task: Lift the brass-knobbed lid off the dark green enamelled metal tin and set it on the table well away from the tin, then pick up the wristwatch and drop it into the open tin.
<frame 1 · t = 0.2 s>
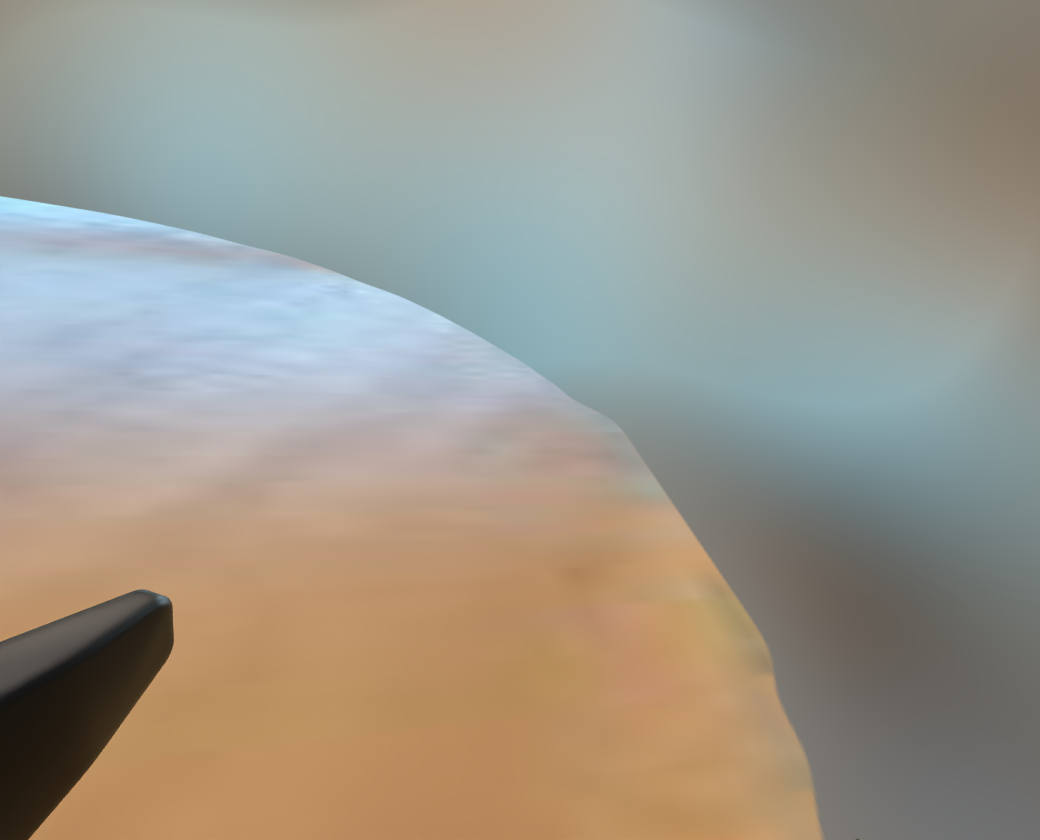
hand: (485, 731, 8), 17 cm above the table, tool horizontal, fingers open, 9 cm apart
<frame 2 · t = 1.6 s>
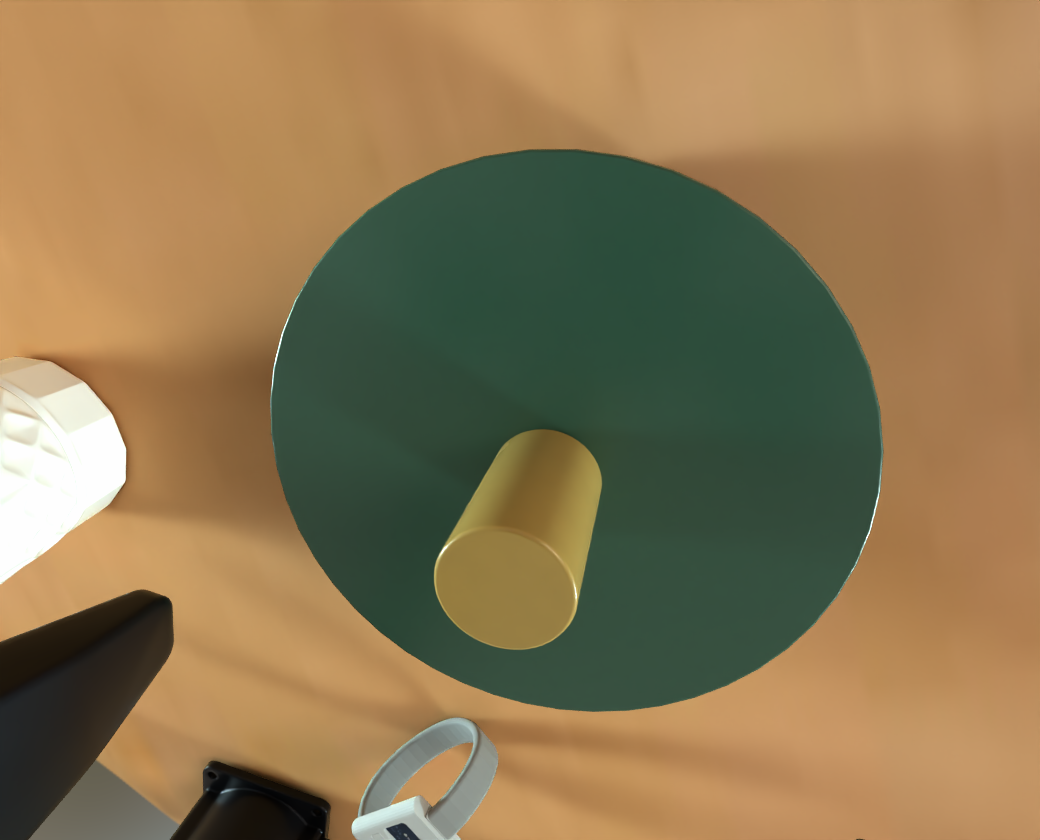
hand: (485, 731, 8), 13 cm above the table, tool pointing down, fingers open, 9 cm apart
tin lid: (550, 468, 14), point 6 cm above the table, touching tin
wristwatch: (448, 728, 28), on the table
white cup: (60, 434, 26), on the table
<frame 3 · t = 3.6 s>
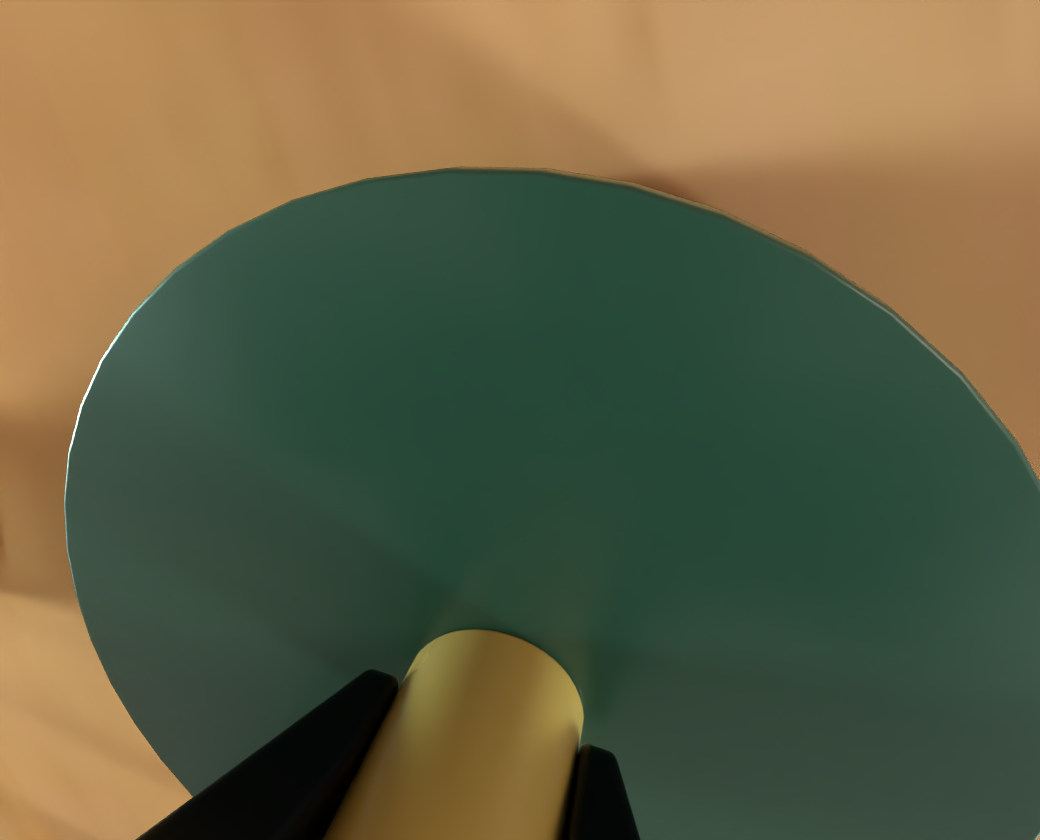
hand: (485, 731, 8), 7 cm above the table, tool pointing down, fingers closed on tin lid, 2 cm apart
tin lid: (504, 670, 9), point 6 cm above the table, touching gripper, tin
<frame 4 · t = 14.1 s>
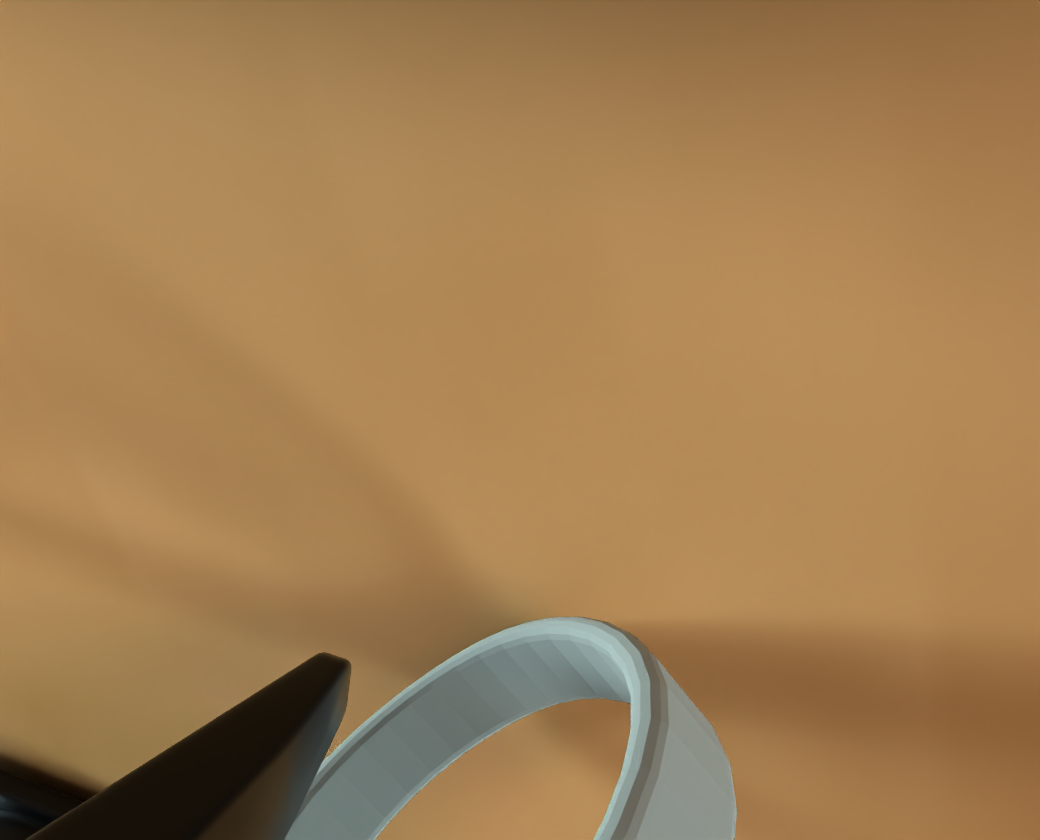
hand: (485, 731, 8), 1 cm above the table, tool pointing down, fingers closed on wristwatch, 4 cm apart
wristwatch: (509, 662, 9), on the table, touching gripper
when the fingers open (7 cm above the table, at t = 18.6 s): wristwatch drops 5 cm, resting on tin.
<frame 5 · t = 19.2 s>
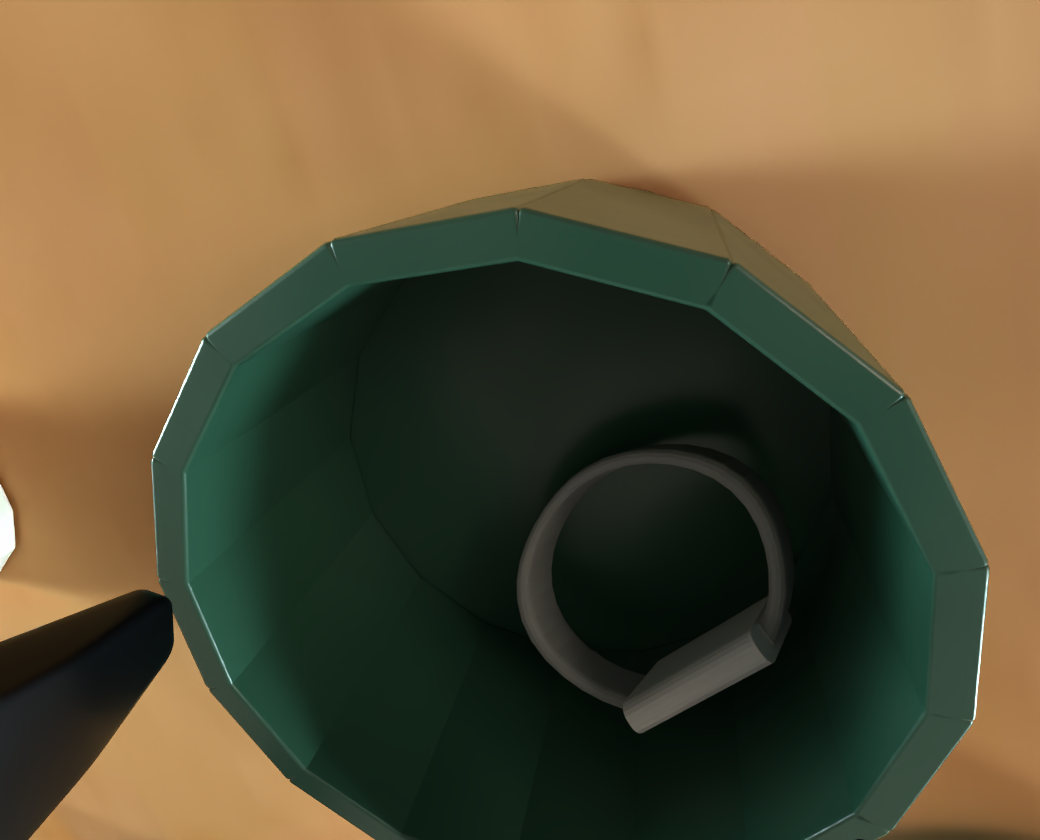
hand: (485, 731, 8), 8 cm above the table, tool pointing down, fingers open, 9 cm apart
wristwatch: (573, 469, 15), point 1 cm above the table, touching tin
tin: (575, 454, 15), on the table
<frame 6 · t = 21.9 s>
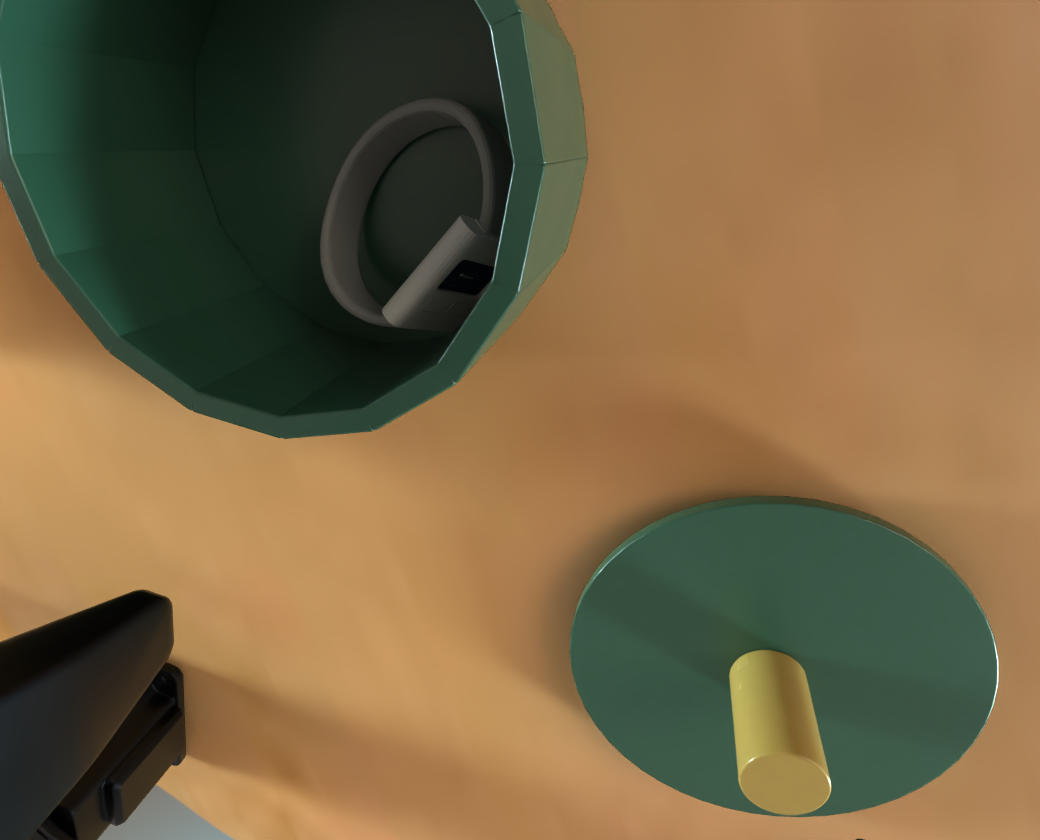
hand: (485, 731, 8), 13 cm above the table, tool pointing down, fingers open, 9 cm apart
tin lid: (765, 666, 22), point 1 cm above the table
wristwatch: (364, 150, 18), point 1 cm above the table, touching tin
tin: (375, 152, 19), on the table
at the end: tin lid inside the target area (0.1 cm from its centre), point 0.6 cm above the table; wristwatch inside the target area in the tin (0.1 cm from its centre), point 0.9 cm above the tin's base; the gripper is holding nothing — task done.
